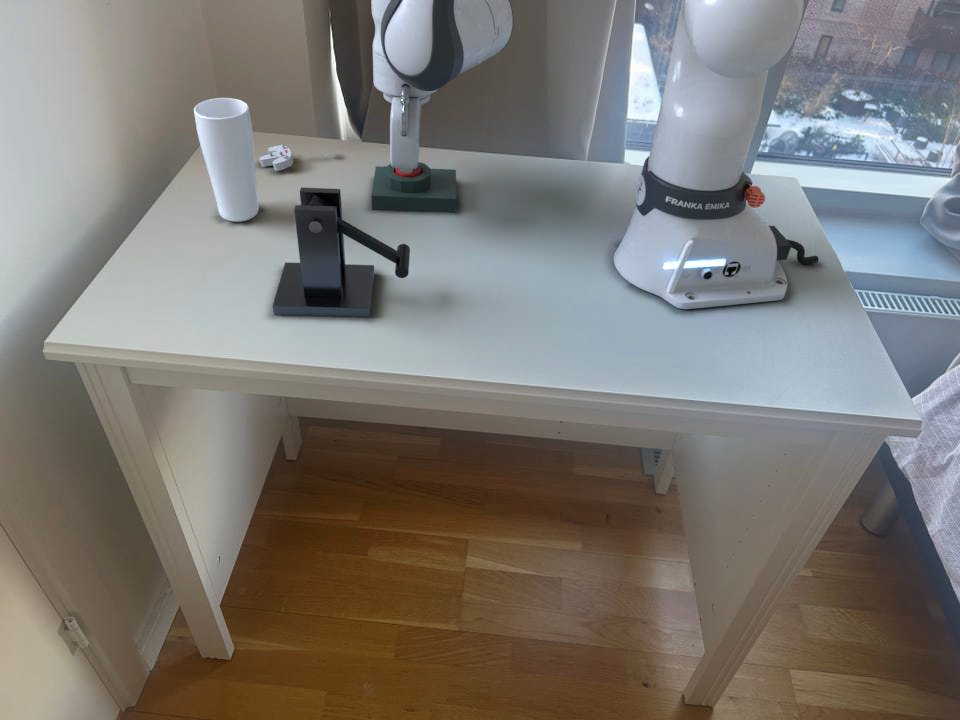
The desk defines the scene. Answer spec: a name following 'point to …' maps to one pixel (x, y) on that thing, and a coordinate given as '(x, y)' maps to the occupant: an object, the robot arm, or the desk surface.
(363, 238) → the black lever handle
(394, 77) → the robot arm
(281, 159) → the game controller
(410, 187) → the power block
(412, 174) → the power button
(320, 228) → the lever base
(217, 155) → the drinking glass
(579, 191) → the desk surface
